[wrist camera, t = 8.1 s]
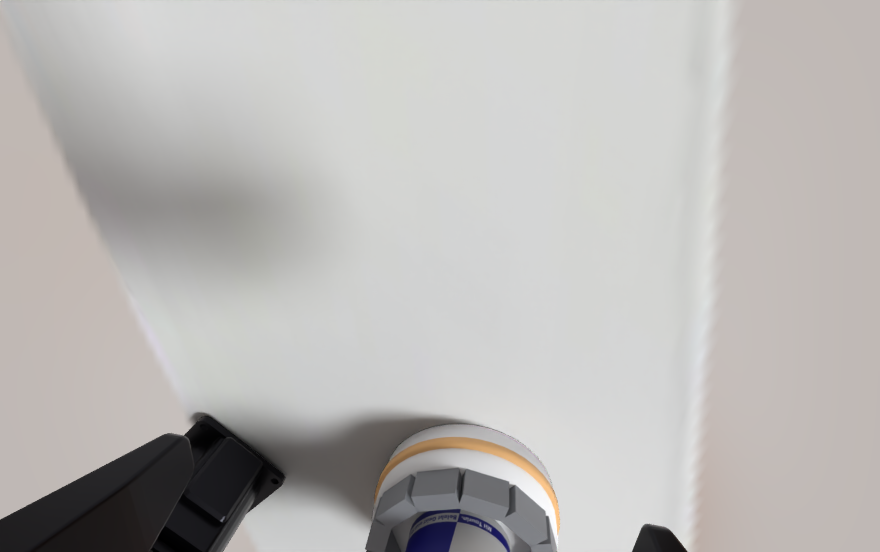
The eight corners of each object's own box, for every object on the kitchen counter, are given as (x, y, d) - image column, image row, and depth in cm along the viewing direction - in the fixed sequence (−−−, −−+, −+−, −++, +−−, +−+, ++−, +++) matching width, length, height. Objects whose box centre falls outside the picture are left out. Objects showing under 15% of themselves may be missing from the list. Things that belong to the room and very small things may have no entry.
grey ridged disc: (466, 570, 30) (459, 649, 26) (348, 477, 28) (320, 545, 24) (594, 504, 26) (610, 583, 22) (468, 389, 24) (459, 453, 20)
